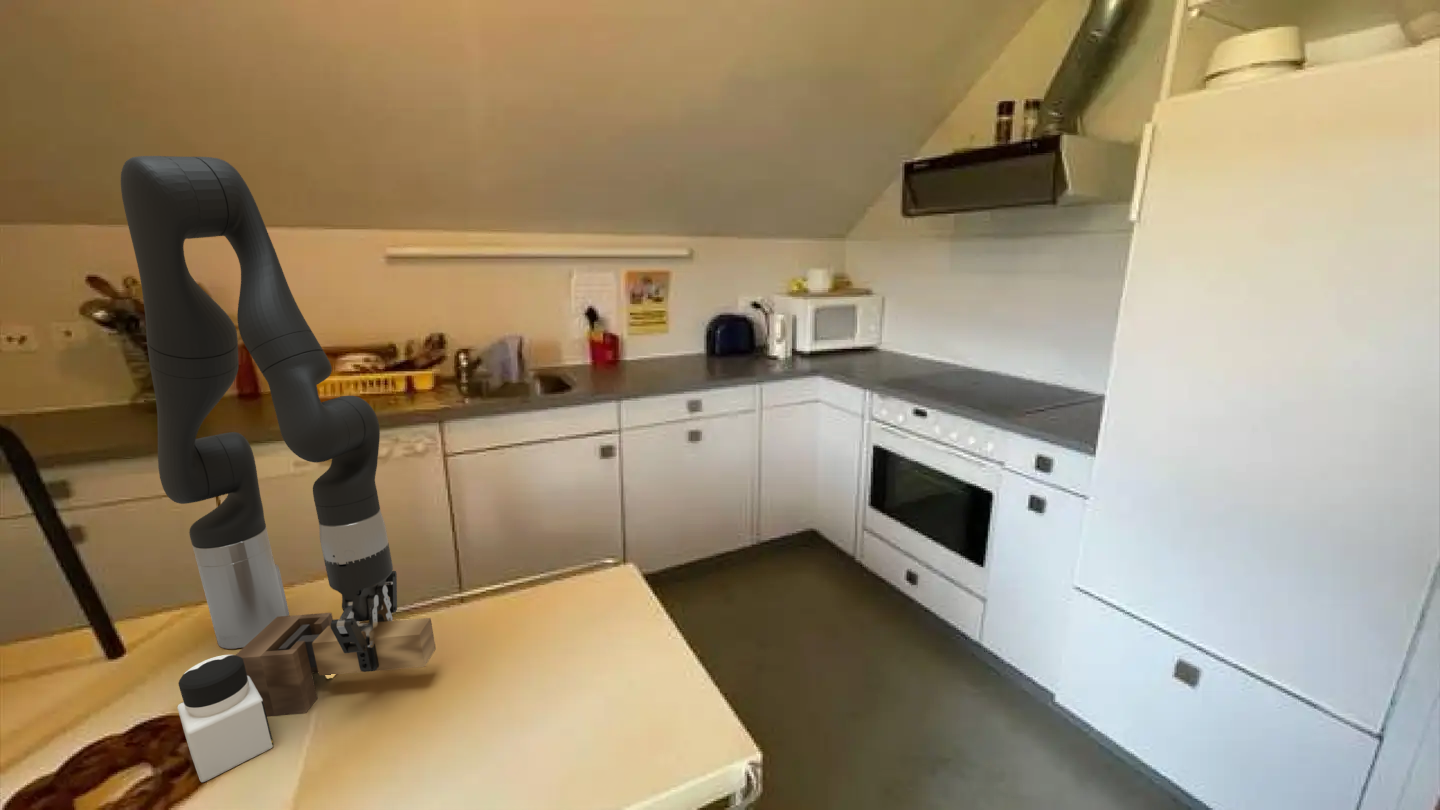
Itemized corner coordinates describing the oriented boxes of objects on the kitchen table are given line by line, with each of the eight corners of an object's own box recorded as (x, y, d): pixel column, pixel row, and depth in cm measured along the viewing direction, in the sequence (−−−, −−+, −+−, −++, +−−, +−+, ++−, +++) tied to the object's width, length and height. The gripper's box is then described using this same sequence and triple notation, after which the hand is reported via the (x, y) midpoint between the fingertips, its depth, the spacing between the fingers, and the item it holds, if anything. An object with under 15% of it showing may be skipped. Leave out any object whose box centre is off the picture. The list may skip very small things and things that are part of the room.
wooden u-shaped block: (342, 666, 90) (331, 612, 88) (305, 712, 81) (292, 653, 79) (289, 670, 90) (277, 616, 88) (246, 717, 81) (231, 658, 79)
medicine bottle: (274, 747, 75) (254, 663, 73) (201, 785, 70) (175, 695, 68) (260, 720, 80) (240, 640, 77) (190, 753, 75) (166, 669, 72)
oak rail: (437, 645, 89) (432, 614, 87) (422, 670, 83) (417, 637, 82) (309, 655, 87) (302, 624, 86) (285, 681, 82) (278, 648, 81)
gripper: (353, 526, 88) (374, 631, 92) (295, 575, 74) (321, 697, 78) (407, 522, 88) (425, 627, 92) (359, 570, 75) (382, 691, 79)
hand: (377, 658), depth 85 cm, fingers closed on oak rail, 4 cm apart
